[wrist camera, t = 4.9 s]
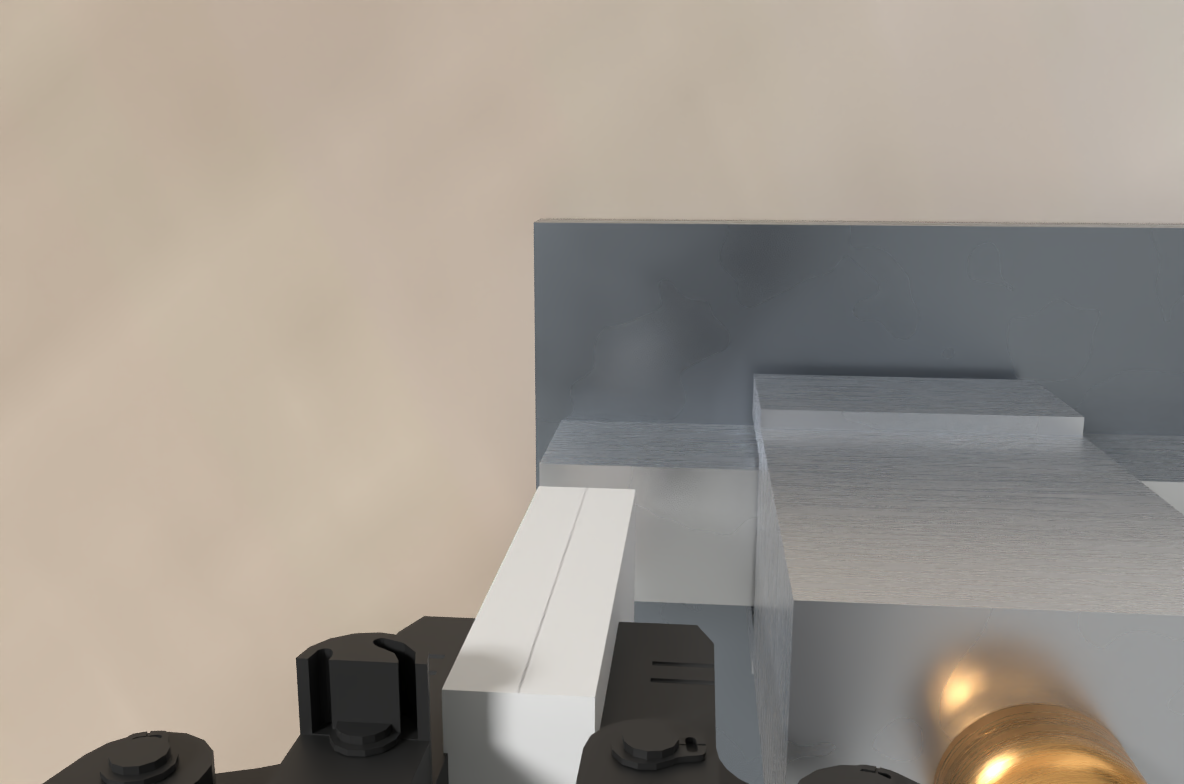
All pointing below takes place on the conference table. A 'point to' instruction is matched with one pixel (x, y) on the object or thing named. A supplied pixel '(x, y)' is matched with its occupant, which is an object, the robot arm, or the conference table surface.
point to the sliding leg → (959, 588)
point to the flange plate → (822, 370)
